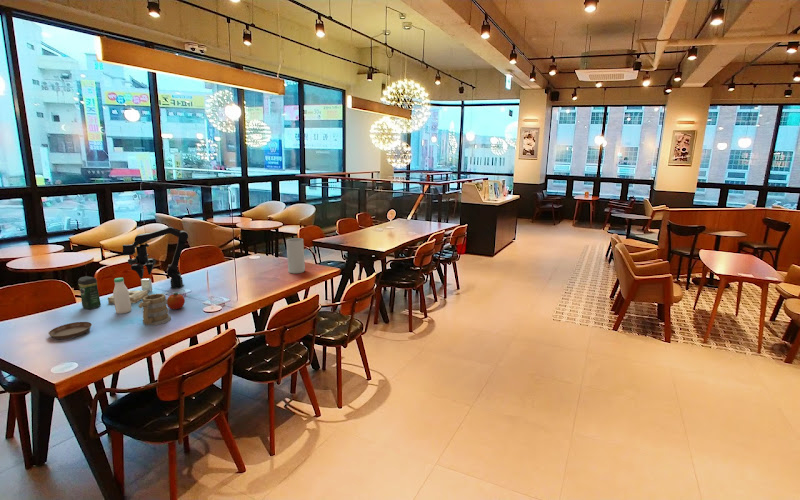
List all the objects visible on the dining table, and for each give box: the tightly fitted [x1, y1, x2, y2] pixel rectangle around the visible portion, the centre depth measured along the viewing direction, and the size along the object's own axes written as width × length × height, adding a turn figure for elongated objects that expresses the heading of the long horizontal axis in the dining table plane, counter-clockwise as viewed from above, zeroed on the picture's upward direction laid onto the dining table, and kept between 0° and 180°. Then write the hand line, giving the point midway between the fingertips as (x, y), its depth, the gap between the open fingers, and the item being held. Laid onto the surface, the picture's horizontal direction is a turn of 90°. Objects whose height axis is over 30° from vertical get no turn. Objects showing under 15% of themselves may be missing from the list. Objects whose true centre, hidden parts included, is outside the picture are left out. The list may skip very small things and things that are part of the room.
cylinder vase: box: [285, 237, 306, 274], centre depth 326 cm, size 12×12×25 cm
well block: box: [107, 289, 149, 304], centre depth 268 cm, size 16×14×4 cm
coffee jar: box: [77, 275, 101, 310], centre depth 254 cm, size 10×8×19 cm
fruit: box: [166, 292, 186, 310], centre depth 252 cm, size 10×10×10 cm
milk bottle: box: [112, 277, 132, 315], centre depth 246 cm, size 8×8×20 cm
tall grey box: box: [140, 278, 153, 293], centre depth 284 cm, size 5×3×8 cm, turn 90°
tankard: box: [138, 293, 172, 326], centre depth 229 cm, size 20×13×15 cm, turn 178°
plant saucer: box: [48, 321, 93, 340], centre depth 218 cm, size 18×18×3 cm
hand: (145, 276), depth 283 cm, fingers open, 9 cm apart
